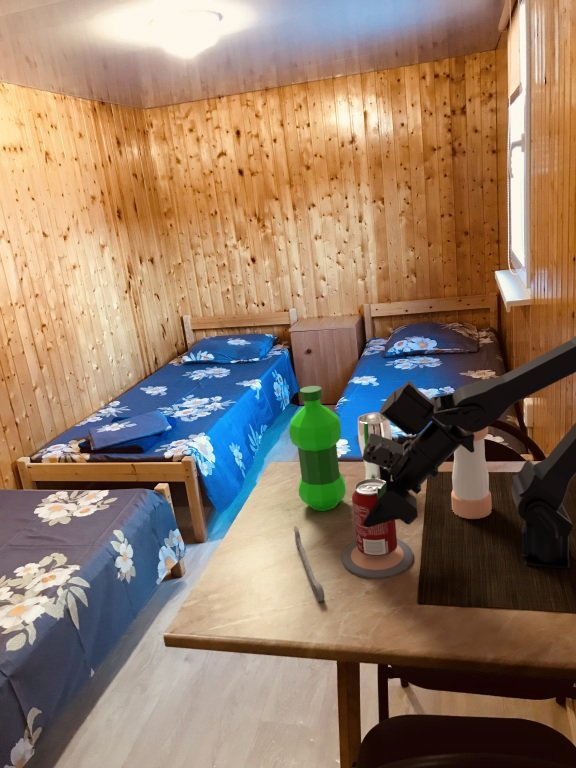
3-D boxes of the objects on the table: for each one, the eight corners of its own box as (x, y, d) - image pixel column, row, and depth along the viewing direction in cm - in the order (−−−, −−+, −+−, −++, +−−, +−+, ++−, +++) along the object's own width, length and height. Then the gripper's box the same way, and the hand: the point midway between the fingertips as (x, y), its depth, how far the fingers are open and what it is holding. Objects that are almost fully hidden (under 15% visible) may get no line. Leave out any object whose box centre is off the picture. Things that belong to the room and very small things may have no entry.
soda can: (390, 563, 101) (383, 497, 98) (351, 557, 104) (344, 493, 101) (402, 542, 107) (397, 479, 104) (366, 536, 110) (359, 475, 107)
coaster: (418, 542, 109) (417, 538, 109) (405, 582, 99) (405, 578, 99) (352, 536, 114) (352, 533, 114) (333, 574, 103) (333, 570, 103)
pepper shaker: (453, 519, 115) (448, 423, 110) (450, 500, 122) (445, 409, 117) (494, 518, 114) (491, 421, 108) (489, 499, 121) (486, 407, 115)
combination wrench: (323, 586, 95) (298, 522, 114) (315, 588, 95) (292, 523, 114) (326, 606, 97) (301, 539, 115) (317, 608, 96) (294, 541, 115)
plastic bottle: (308, 491, 133) (294, 381, 126) (355, 494, 129) (344, 381, 122) (291, 514, 125) (275, 397, 117) (341, 518, 121) (328, 397, 113)
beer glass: (400, 478, 134) (395, 413, 130) (387, 492, 129) (382, 425, 124) (371, 474, 138) (365, 410, 134) (357, 487, 132) (351, 422, 128)
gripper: (390, 401, 107) (334, 462, 113) (388, 443, 90) (321, 513, 95) (440, 440, 108) (382, 499, 113) (447, 490, 90) (378, 557, 96)
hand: (366, 514), depth 104 cm, fingers closed on soda can, 6 cm apart
